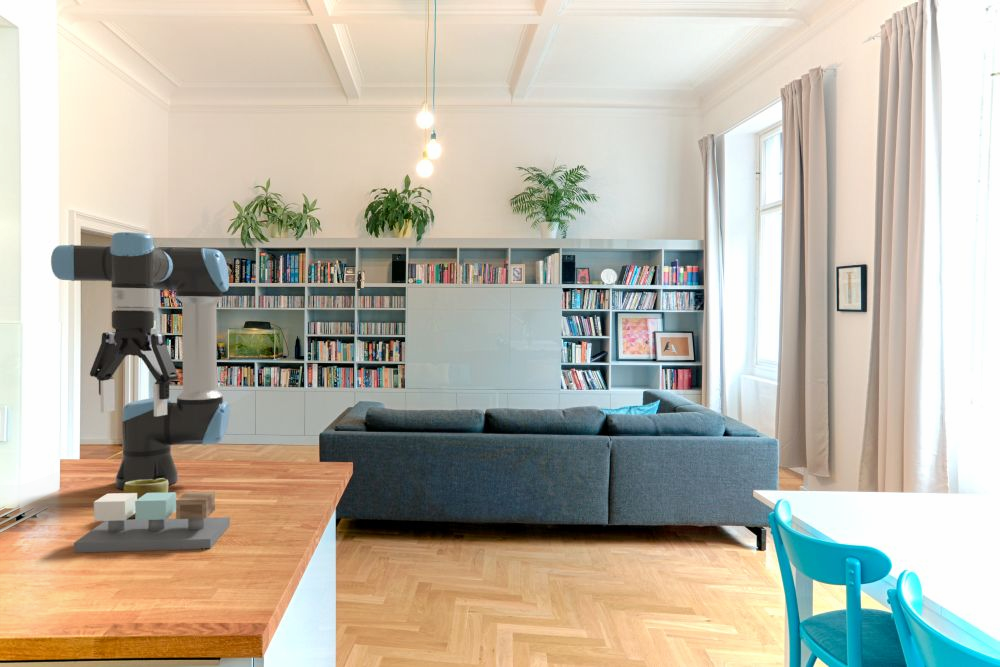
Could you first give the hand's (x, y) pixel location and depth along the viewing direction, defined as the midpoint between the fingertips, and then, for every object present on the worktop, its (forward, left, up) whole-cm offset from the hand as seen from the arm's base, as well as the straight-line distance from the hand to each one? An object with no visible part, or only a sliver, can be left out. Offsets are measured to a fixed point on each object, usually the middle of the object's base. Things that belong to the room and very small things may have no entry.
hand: (133, 413), depth 137 cm
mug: (-22, -5, -28) cm, 35 cm away
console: (-4, +3, -27) cm, 28 cm away
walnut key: (-4, +11, -22) cm, 25 cm away
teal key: (-4, +3, -22) cm, 23 cm away
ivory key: (-4, -5, -22) cm, 23 cm away
